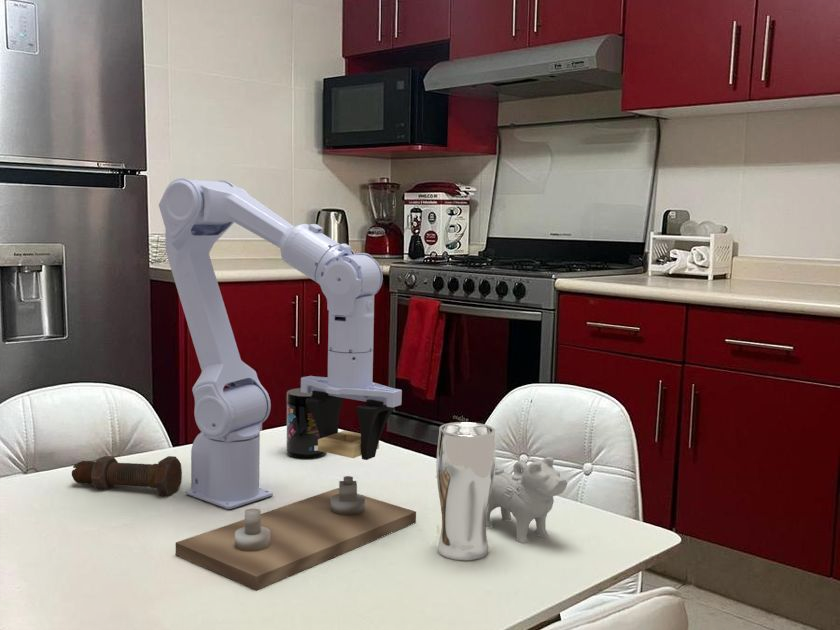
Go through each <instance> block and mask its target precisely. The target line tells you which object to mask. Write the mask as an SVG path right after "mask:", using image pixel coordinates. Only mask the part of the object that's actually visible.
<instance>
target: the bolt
mask: <svg viewBox="0 0 840 630" xmlns="http://www.w3.org/2000/svg"><path fill="white" fill-rule="evenodd" d="M72 468H73V469H72V471H71V477H72V478H73V479H72V480H73V481H74V482H75V483H78V484H89V485H90V484H91V485H92V486H93V487H94V488H95V489H96V490H98V491H99V490H100V491H107V490H110V489H112V488H114V487H115V486H117V487H118V486H120V487H121V486H124V487H139V488H140V487H141V488H143V487H144V488H151V489H156V491H157V493H158V496H160V497H167V498H168V497H171V496H173V495H174V494H176V493H177V492H178V490H179V488H180V486H181V485H182V481H183V469H182V463H181V462H180V460H179V459H178V458H177V456H173V455H168V456H166V457H165V458H163V459H161V460H159V461H158V463H153V464H151V463H148V464H147V463H132V462H119V461H118V460H117V459H116V458H115V457H114V455H105V456H102V457H99V458H98V459H96V460H93V461H91V460H81V461H78V462H77V463H75V464H74V465H73V467H72Z"/></svg>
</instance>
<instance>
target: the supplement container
mask: <svg viewBox="0 0 840 630" xmlns="http://www.w3.org/2000/svg"><path fill="white" fill-rule="evenodd" d="M311 395H312V392H309V393H303V392H301V387H299V388H292V389H289V390H287V392H286V453H287V455H289V456H290V457H291V458H294V459H301V460H309V459H310V460H311V459H318V458H321V457H324V456H325V455H326V452H321V451H318V439H320V435H319V432H318V428H317V425H316V423H315V420H314V418H313V416H312V414H311V412H310V410H309V409H308V407H307V405H306V399H307V398H311Z"/></svg>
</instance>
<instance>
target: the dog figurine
mask: <svg viewBox="0 0 840 630" xmlns="http://www.w3.org/2000/svg"><path fill="white" fill-rule="evenodd" d="M554 460H555V459H554V458H553V457H552V456H551V457H550V456H547V457H545V458H543V459H540V460H535V461H532V462H531V463H530V464H527V463H526V462H524V461H523V460H519V461H516V462H515V463H514V466H513V472H514V474H510V473H509V472H507V471H504V470H505V469H504V467H500V466H496V465H495V476H494V482H493V488H492V493H491V497H490V502H489V506H488V511H487V517H486V529H487V528H493V526H494V525H493V523H492V521H491V517H490V516H491V513H492V511H493V510H495V509H497V508H500V515H501V519H502V520H503V521H505V522H511V521H513V520H512V519H513V518H512V516H513V517H514V519H515V520H516V543H520V544H523V545H524V544H528V542H529V540H528V538H527V537H528V536H527V535H528V531H529V527H530V524H531V522H532V521H533V520H535V525H536V527H535V532H536V535H537V537H538V536H539V537H543V538H544V537H545V538H546V537H548V536H549V534H548V531H547V528H546V520H547V519H546V518H547V515H548V514H549V512H551V510H553V509H552V508H553V505H554V501H555V499H554V497H556V496H559V495H561V494H562V493H564V492H565V490H566V489H567V486H568V481H567V480H566V479H565V478H562V477H561V474H560V471H558V470H556V469H555V468H554V466H553V465H554Z"/></svg>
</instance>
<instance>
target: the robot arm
mask: <svg viewBox="0 0 840 630" xmlns="http://www.w3.org/2000/svg"><path fill="white" fill-rule="evenodd" d="M158 208H159V211H160V215H161V217H162V220H163V225H164V228H165V231H164V233H165V236H164V237H165V241H164V242H165V244H164V247H165V248H164V249H165V252H166V253H165V254H166V257H167V260H168V263H169V267H170V270H171V274H172V277H173V279H174V284H175V286H176V289H177V294H178V297H179V300H180V303H181V306H182V309H183V313H184V316H185V319H186V322H187V323H186V324H187V327H188V330H189V333H190V336H191V339H192V344H193V347H194V349H195V353H196V357H197V360H198V363H199V367H200V370H201V372H200V375H199V377H198V378H197V380H196V382H195V383H194V384H193V386H192V390H191V391H192V394H193V397H194V411H193V412H194V413H193V414H194V416H193V417H194V420H195V423H196V426H197V428H198V429H199V430H200V433H198V434H197V436H196V437H195V439H194V440H193V442H192V446H191V450H190V451H191V452H190V454H191V455H190V457H191V458H190V459H191V460H190V462H191V463H190V472H191V473H190V474H191V475H190V477H191V481H190V482H191V484H190V485H191V487H190V488H191V489H187V490H186V492H185V494H186V495H187V496H188V495H189V496H191V497H194V498H196V499H199V500H202V501H205V502H207V503H210V504H213V505H216V506H217V507H221V508H224V509H227V510H232V509H235V508H238V507H241V506H244V505H247V504H250V503H253V502H256V501H260V500H263V499H266V498H269V497H272V496H273V495H274V494H273V491H271V490H267V489H264V488H262V487H260V458H261V457H260V446H261V445H260V443H261V441H260V439H261V435H260V433H261V432H262V431H263V423H264V422H265V421H266V420H267V419H268V417H269V416H270V413H271V408H272V407H271V406H272V404H271V399H270V396H269V393H268V391H267V390H266V389H265V387H264V386H263V385H262V384H261V381H260V380H259V378H258V373H257V372H256V370H255V369H254V368H252V367H251V366H250V365H248V364H246V362H244V361H243V360H242V359H241V355H240V352H239V349H238V346H237V342H236V339H235V335H234V331H233V329H232V325H231V323H230V319H229V316H228V313H227V309H226V306H225V302H224V300H223V296H222V293H221V290H220V285H219V283H218V279H217V276H216V272H215V269H214V265H213V263H212V259H211V257H210V252H211V251H212V249H213V246H214V245H215V243H216V242H218V240H219V239H220V238H221V237H222V236H223V235H224V234H225V233H226V232H227V231H228V230H229V228H231V227H232V226H233V225H234V224H237V225H238V226H239V227H242V228H244V229H246V230H248V231H249V232H250V233H253V234H254V235H256V236H258V237H260V238H261V239H263V240H265V241H266V242H268V243H271V244H272V245H274V246H275V247H277V248H279V249H280V256H281V259H282V260H283V262H284V263H286V264H287V265H288V266H291V267H292V268H293V269H294V270H296V271H298V272H300V273H301V274H303V275H305V276H306V277H308V278H309V279H310V280H312V281H314V282H315V283H317V284H318V285H319V286H320V290H321V292H322V294H323V295H324V296H325V298H326V303H327V305H326V306H327V309H326V310H327V311H328V324H327V326H328V329H327V330H328V331H327V333H328V334H327V335H328V338H327V339H328V340H327V342H328V343H327V377H325V376H313V375H309V376H302V377H301V378H300V388H301V392H303V393H309V392H312V395H311V398H307V399H306V405H307V407H308V409H309V410H310V412H311V414H312V416H313V418H314V420H315V423H316V425H317V428H318V432H319V435H320V439H321V438H324V437H326V436H329V435H332V434H335V433H338V432H339V422H340V421H339V420H340V413H341V409H342V404H343V401H344V399H348V400H349V399H350V400H354V401H361V402H366V403H364V404H361V405H358V406H355V412H356V415H357V418H358V423H359V428H360V429H359V430H360V434H361V456H360V457H361V460H364V461H368V460H371V459H372V458H375V457H376V454H377V450H378V449H377V446H378V443H379V444H380V439H381V436H382V433H383V431H384V429H385V426H386V424H387V422H388V420H389V418H390V417H391V415H392V413H393V411H394V409H395V407H398V406H399V407H400V406H401V405H402V401H403V400H402V398H403V397H402V396H403V395H402V393H403V390H402V389H399V388H393V387H390V386H387V385H383V384H380V383H377V382H373V381H374V380H373V376H374V375H373V373H374V371H373V370H374V369H373V368H374V365H373V364H374V335H375V334H374V328H375V327H374V324H375V320H374V319H375V295H376V294H378V292H379V291H380V290H381V287H382V285H383V280H384V277H383V275H384V274H383V270H382V268H381V265H380V264H379V262H378V261H377V260H376V259H375V258H373V256H372V255H371V254H369V253H366V252H358V253H355V254H353V252H352V251H351V249H352V247H351V246H350V245H348V243H339V242H337V241H336V240H334V239H332V238H331V237H329V236H327V235H325V234H324V233H322V232H323V230H324V228H323V227H322V226H320V225H319V224H316V223H312V224H311V223H310V224H308V223H302V224H298V225H296V226H294V225H292V224H291V223H290V222H288V221H287V220H286V219H284V218H283V217H281V216H280V215H278V214H277V213H276V212H274V211H273V210H272V209H270V208H268V207H267V206H266V205H264V204H262V203H261V202H260V201H259V200H257V199H255V198H254V197H252V196H251V195H250V194H249V193H248V192H247V191H246V190H245V188H241V187H239V186H236V185H235V184H234V183H232V182H230V181H228V180H217V181H216V180H215V181H214V180H202V179H201V180H200V179H190V178H185V177H179V178H176V179H173V180H172V181H171V182H170V183H169V184H168V185H167V187H166V188H165V190H164V192H163V194H162V196H161V199H160V201H159V203H158ZM225 386H227V388H225Z"/></svg>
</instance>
